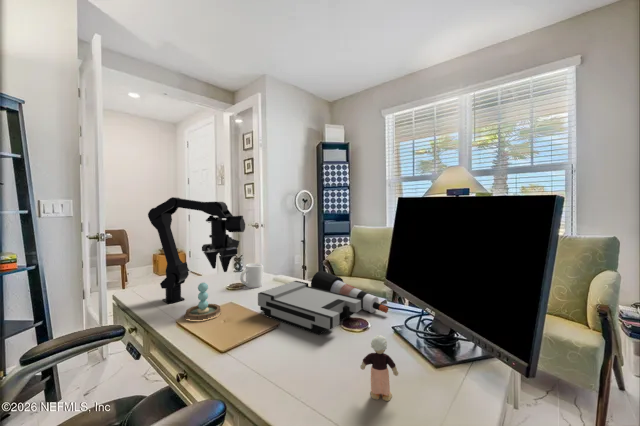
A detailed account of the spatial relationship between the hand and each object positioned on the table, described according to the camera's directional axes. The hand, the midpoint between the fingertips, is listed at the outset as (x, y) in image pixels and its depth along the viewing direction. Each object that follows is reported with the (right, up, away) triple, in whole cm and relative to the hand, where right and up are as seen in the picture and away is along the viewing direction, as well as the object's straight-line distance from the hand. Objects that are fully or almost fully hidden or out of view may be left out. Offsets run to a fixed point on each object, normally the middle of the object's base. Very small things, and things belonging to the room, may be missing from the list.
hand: (219, 270), depth 112 cm
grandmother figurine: (+54, -15, -55) cm, 78 cm away
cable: (+53, -14, -2) cm, 55 cm away
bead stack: (-1, -13, -13) cm, 18 cm away
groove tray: (-1, -14, -13) cm, 19 cm away
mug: (+8, -13, +22) cm, 26 cm away
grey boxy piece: (+38, -14, -13) cm, 42 cm away
